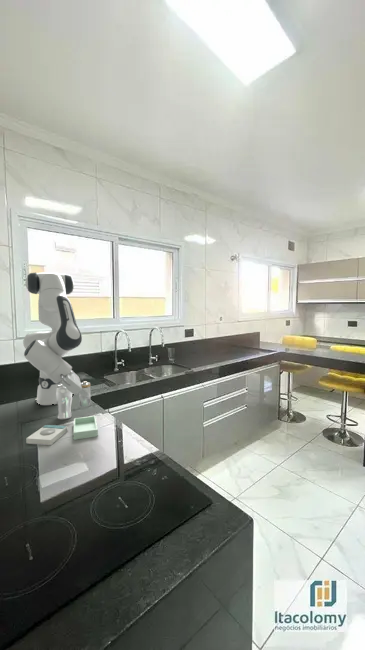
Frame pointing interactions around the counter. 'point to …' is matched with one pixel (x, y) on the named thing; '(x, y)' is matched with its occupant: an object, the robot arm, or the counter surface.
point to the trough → (85, 427)
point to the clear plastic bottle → (64, 402)
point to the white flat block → (46, 435)
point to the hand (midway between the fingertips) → (86, 393)
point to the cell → (83, 400)
